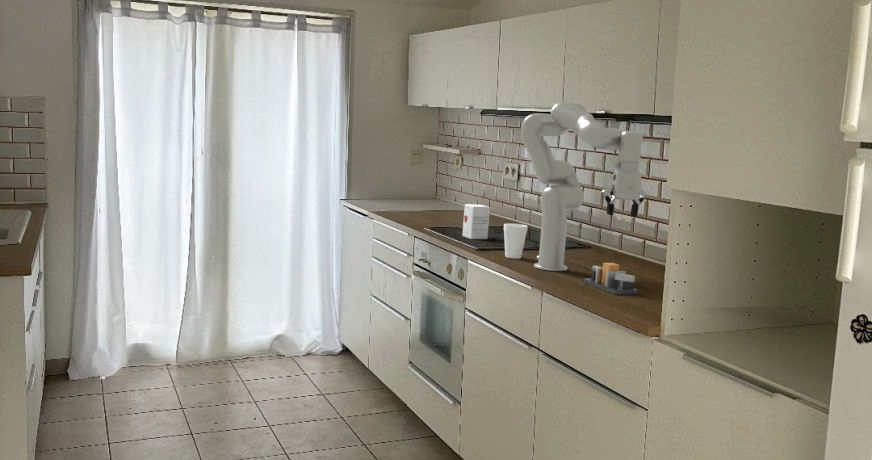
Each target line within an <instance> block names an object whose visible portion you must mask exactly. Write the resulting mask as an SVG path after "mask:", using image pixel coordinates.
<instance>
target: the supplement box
mask: <svg viewBox="0 0 872 460" xmlns="http://www.w3.org/2000/svg"><path fill="white" fill-rule="evenodd" d="M490 211H491V206H487V205H484V204H473V203H472V204H471V203H467V204H466V203H465V204H464V210H463V224H462V236H461V237H464V238H467V239H470V240H487V239H488V236H489V225H490V224H489V223H490V214H491V213H490Z"/></svg>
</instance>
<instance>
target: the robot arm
mask: <svg viewBox="0 0 872 460" xmlns="http://www.w3.org/2000/svg"><path fill="white" fill-rule="evenodd" d="M570 131H572V132H573V133H575V134H577V135H578V137H579V138H580V140H582V142H584V143H585V144H588V145H589V146H592V147H594V148H596V149H598V150H603V151H604V150H607V151H608V150H611V151H618V155H617V161H616V162H614V163H613V164H614V165H613V166H614V167H616V169H615V170H614V171H613V174H612V178H611V183H610V186H608V187H607V188H605V189H602V192H601V193H602V195H603V199H604V200H605V203H606V204H607V206H606V215H608V216H614V210H615V204H614V203H615V202H616V200H624V201H625V200H627V201H631V202H632V204H631V207H630V216H632V217H635V218H636V217H638V213H639V207H640V206H641V204H642V203H643V202H644V201H645V198H646V197H647V192H646V191H644V190H643V189H642V174H641V171H639V170H640V161H641V155H642V154H641V153H642V148H643V147H642V146H643V140H644V138H643V133H641V132H639V131H633V130H625V129H622V128H612V127H603V126H600V125H598V124H596V123H595V118H594V115H593V114H592V113H590V112H588V111H587V109H586V107H585V106H584V105H583V104H581V103H578V102H571V101H559V102H557V103H555V104H554V105H553V106H552V108H551V110H550V113H541V112H540V113H539V112H537V113H535V112H534V113H531V114H529V115H527V116H525V119H524V120H523V121H522V124H521V129H520V137H521V140H522V142H523V145H524V147H525V149H526V151H527V153H528V156H529V159H530V161H531V164H532V167H533V170H534V173H535V176H536V177H537V180H538V182H539V183H540V184H542V185H548V186H547V187H546V188H545V189H544V190H543V191H542V193H541V197H540V203H541V205H540V206H541V227H540V228H541V230H540V239H539V240H540V242H539V251H538V255H537V256H536V259H537V260H538V262H535V263H534V264H533V267H534V268H535V269H539V270H542V271H543V270H544V271H548V272H549V271H551V272H553V271H554V272H562V271H568V266H567V265H565V264H564V262H565V251H566V242H567V230H568V228H567V227H568V221H567V220H568V219H567V215H566V212H565V211H575V210H577V209H580V207H582V205H583V202H584V193H583V189H582V187H581V185H580V182H579V178H578V176H577V174H576V171H575V168H574V167H573V166H572V164H571V163H570V162H568V161H566V160H564V159H556V158H555V157H554V154H553V152H552V149H551V147H550V145H549V144H548V142H547V140H545V139H544V138H543V137H560V136H562V135H565V134H566V133H568V132H570Z"/></svg>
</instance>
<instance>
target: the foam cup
mask: <svg viewBox="0 0 872 460" xmlns="http://www.w3.org/2000/svg"><path fill="white" fill-rule="evenodd" d="M527 232H528V225H526V224H519V223H504V224H503V235H504V256H505V257H506V258H510V259H521V258H522V254H523V251H524V245H525V241H526V237H527V236H526V235H527Z"/></svg>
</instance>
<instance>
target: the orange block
mask: <svg viewBox="0 0 872 460" xmlns="http://www.w3.org/2000/svg"><path fill="white" fill-rule="evenodd" d="M602 268H603V269H602V280H601V283H603V284H606V275H607V271H620V264H617V263H615V262H602Z"/></svg>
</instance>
